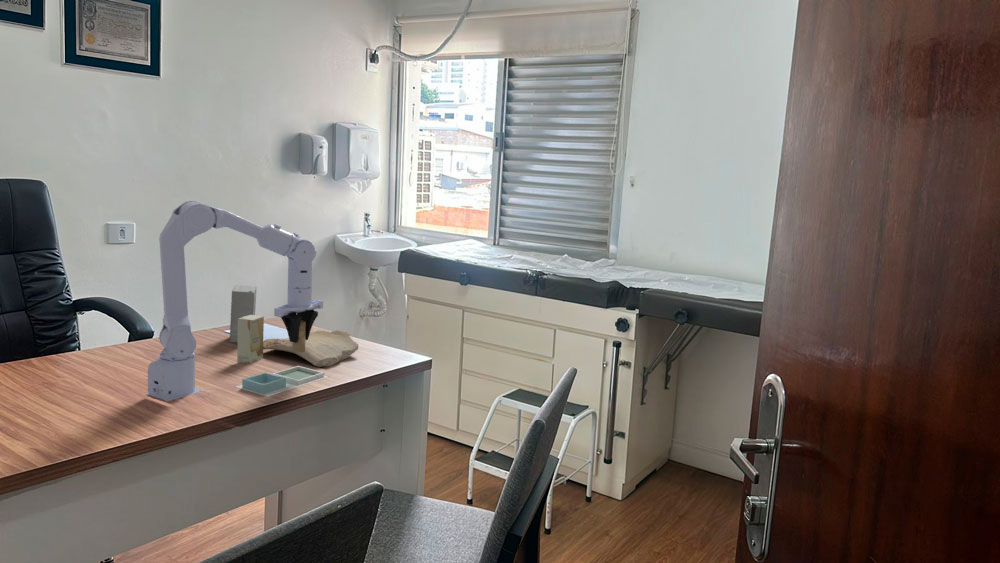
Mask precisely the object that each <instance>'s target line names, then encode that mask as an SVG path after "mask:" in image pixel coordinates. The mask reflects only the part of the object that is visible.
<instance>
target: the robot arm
mask: <svg viewBox="0 0 1000 563" xmlns="http://www.w3.org/2000/svg"><path fill="white" fill-rule="evenodd" d="M212 228H214V229H216V230H217V229H223V228H228V229H231V230H233V231H236V232H238V233H242V234H244V235H246V236H249V237H252V238H254V239H256V241H257V243H258V245H259V247H261V248H264V249H266V250H269V251H271V252H273V253H276V254H278V255H280V256H283V257H287V258H288V260H287V262H288V263H287V264H288V265H287V266H288V267H287V303H285V304H283V305H281V306H277V307H274V308H273V309H274V311H273V314H274V316H275V317H279V318H280V319H281V321H282V323H283V324H284V327H285V328H286V331H287V335H288V336H287V337H288V338H289V340H290V342H294V343H297V342H298V338H299V327H300V323H301V320H302V321H306V334H305V340H308V338H309V334H310V333H311V331H312V328H313V325H314V322H315V320H316V319H317V318H318V316H319V312H318V311H316V309H324V301H323V300H320V299H315V300H312V298H313V297H312V296H313V294H312V293H313V292H312V291H313V290H312V288H313V283H312V282H313V261H314V259H316V256H317V251H316V250H315V245H314V244H313V242H311V241H310V240H308V239H305V238H302V237H300V236H299V234H298V233H296V232H294V233H291V232H288V231H286V230H285V229H282V226H281V225H279V224H276V223H274V224H273V225H272V224H266V225H264V226H261V225H258V224H256V223H255V222H253V221H250V220H247V219H246V218H243V217H241V216H239V215H237V214H235V213H232V212H230V211H229V210H226V209H223V208H219V207H215V206H212V205H208V204H203V203H200V202H198V201H195V200H188V201H185V202H183V203H181V204H180V205H179V206H177V207H176V208H175V209H174V210H173V211H172V213H171V216H170V218H169V219H168V221H167V223H166V224H165V226H164V227H163V229H162V230H161V232H160V234H159V237H158V238H159V250H160V251H159V252H160V269H161V270H160V271H161V281H162V282H161V286H162V297H163V313H164V314H163V317H162V327H161V330H160V331H159V332H160V333H159V336H158V338H159V342H160V345H162V347H163V348H162V350H161V352H160V353H159V357H158V358H157V359H156V360H154V361H152V362H150V363H149V365H148V366H147V367H148V368H147V392H146V393H145V394H146V395H147V396H150V397H151V396H152V397H153V398H156V399H159V400H162V401H165V402H170V401H173V400H177V399H180V398H185V397H187V396H191V395H194V394H197V393H201V392H204V391H205V390H204V389H200V388H197V387H196V352H195V350H196V348H197V339H196V338H195V336H194V335H193V333H192V329H191V328H192V325H191V322H190V317H189V311H188V296H187V295H188V294H187V293H188V292H187V277H186V275H187V274H186V260H185V258H186V257H185V246H186V245H187V244H188V243H189V242H190V241H192V240H193V238H195V237H197V236H199V235H202V234H204V233H206V232H208V231H209V230H211V229H212Z"/></svg>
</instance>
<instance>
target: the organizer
mask: <svg viewBox="0 0 1000 563" xmlns="http://www.w3.org/2000/svg"><path fill="white" fill-rule="evenodd" d="M271 374H273V375H277V376H280V377H284V378H286V387H284V388H281V389H278V390H275V391H272V392H269V393H266V394H261V393H257V392H254V391H251V390H247V389H244V388H242V384H240V385H236V386H235V388H237V389H240V390H244V391H247V392H251V393H254V394H257V395H260V396H264V397H267V398H268V397H271V396H274V395H277V394H281V393H284V392H287V391H289V390H293V389H295V388H300V387H302V386H305V385H308V384H310V383H311V384H312V383H314V382H317V381H320V380H323V379H327V378H329V376H328V375H325V372H324V371H320V370H317V369H312V368H308V367H305V366H301V365H295V366H293V367H290V368H286V369H283V370H280V371H276V372H273V373H271ZM266 383H267V382H263V383H261V384H266Z"/></svg>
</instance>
